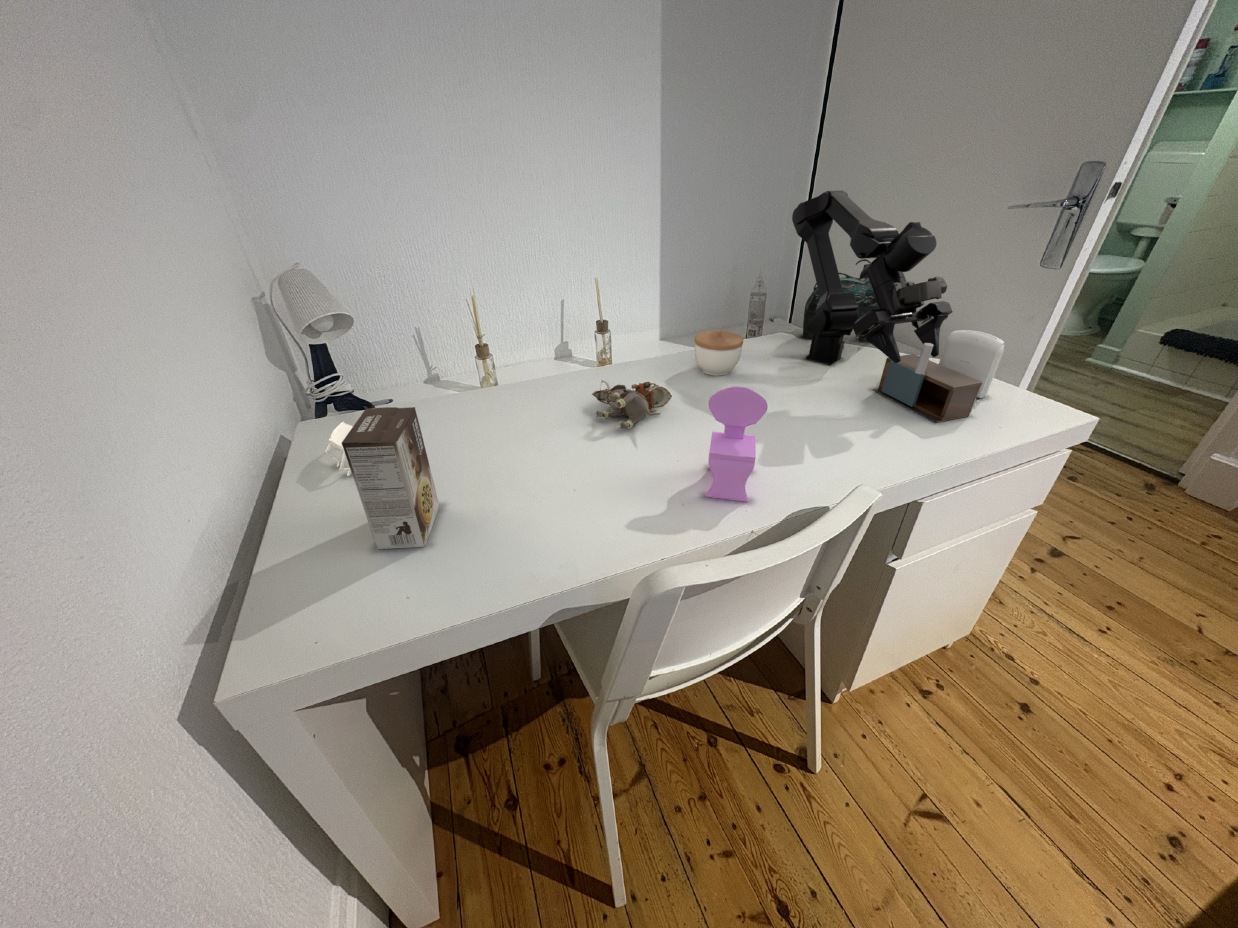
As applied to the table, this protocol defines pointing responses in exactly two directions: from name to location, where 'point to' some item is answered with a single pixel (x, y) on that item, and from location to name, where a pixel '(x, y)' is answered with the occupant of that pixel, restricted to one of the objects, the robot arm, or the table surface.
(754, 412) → the toy chair
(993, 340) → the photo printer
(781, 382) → the table surface
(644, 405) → the figurine
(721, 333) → the trinket box
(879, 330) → the robot arm
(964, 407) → the cabinet
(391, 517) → the brown food box
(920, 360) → the sliding door
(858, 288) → the dark green sculpted piece
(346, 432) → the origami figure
